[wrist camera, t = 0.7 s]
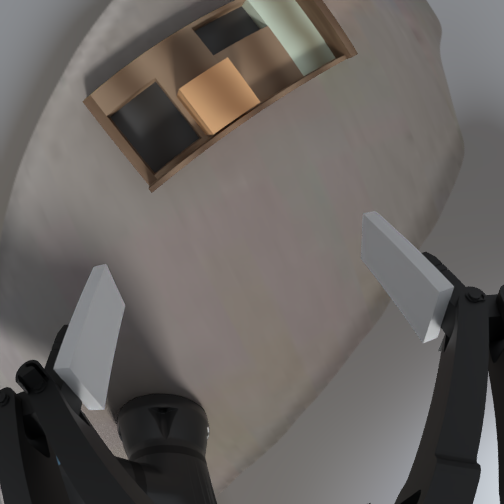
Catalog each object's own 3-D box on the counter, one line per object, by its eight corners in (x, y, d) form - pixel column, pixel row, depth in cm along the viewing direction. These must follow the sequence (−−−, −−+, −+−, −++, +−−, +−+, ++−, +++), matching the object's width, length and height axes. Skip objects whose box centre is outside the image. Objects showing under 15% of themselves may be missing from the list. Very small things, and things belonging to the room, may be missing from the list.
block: (205, 135, 29) (213, 134, 25) (176, 96, 27) (179, 88, 23) (245, 107, 29) (260, 102, 25) (217, 69, 27) (227, 57, 23)
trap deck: (153, 185, 32) (151, 194, 27) (88, 103, 27) (74, 98, 22) (333, 62, 32) (358, 53, 27) (279, -14, 27) (296, -32, 22)
